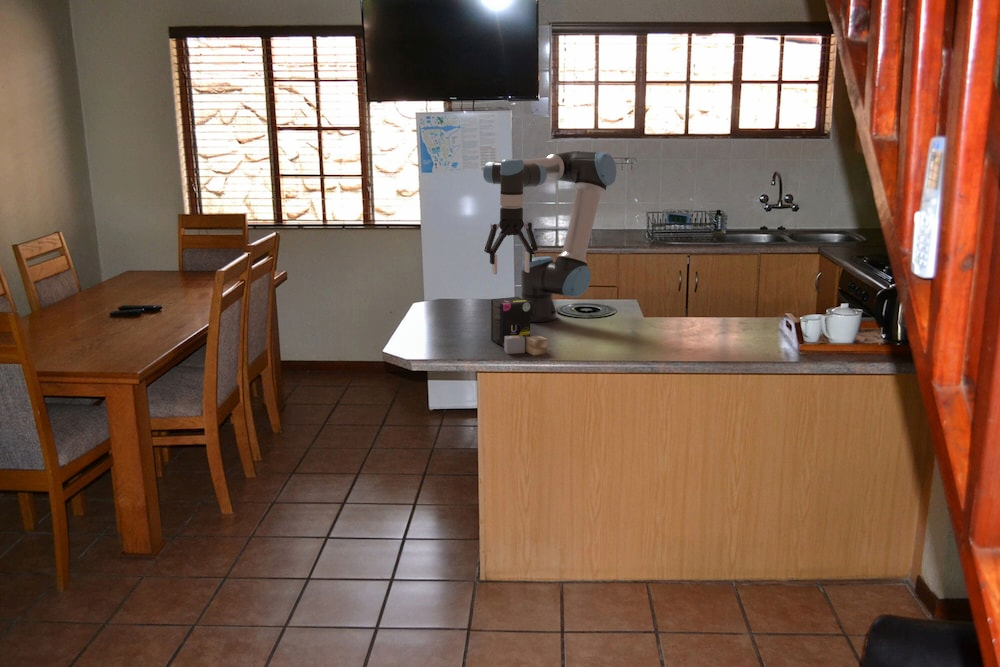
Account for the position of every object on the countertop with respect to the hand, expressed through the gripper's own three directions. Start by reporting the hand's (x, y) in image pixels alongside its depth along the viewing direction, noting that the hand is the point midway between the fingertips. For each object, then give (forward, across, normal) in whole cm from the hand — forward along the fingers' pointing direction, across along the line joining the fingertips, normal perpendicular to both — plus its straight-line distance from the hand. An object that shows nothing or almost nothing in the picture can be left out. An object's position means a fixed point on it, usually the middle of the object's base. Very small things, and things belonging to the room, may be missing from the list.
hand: (510, 272), depth 299 cm
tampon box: (+24, 0, 0) cm, 24 cm away
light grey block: (+24, +3, +12) cm, 27 cm away
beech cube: (+24, -4, +15) cm, 29 cm away
